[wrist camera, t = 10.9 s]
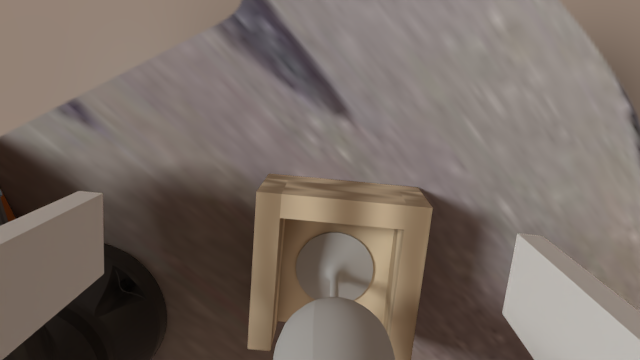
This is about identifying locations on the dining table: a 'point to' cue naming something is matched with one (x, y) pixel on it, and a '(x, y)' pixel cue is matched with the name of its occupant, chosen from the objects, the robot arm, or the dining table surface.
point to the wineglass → (334, 305)
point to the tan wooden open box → (350, 218)
